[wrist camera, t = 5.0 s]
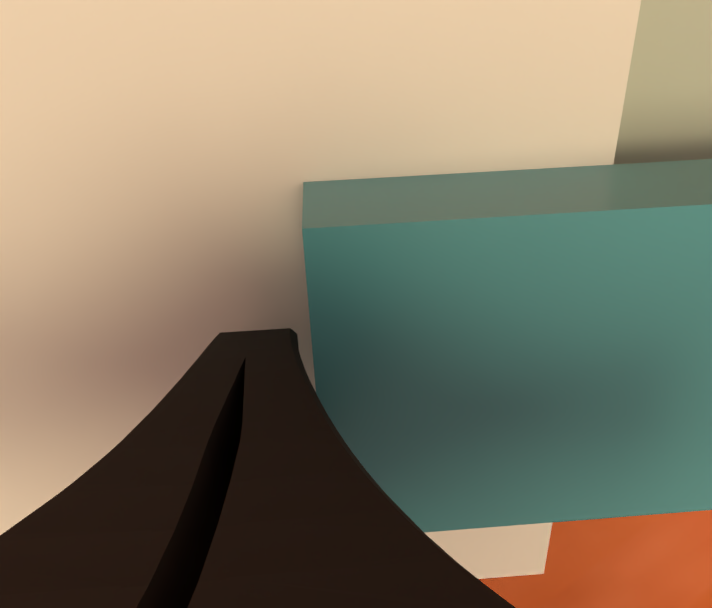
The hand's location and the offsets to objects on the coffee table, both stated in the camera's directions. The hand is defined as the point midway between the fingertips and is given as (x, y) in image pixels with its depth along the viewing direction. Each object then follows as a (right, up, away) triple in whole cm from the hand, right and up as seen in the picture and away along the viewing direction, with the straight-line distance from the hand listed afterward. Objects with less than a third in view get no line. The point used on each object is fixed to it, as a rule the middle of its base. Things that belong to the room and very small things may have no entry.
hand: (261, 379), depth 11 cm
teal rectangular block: (+6, +1, +1) cm, 6 cm away
